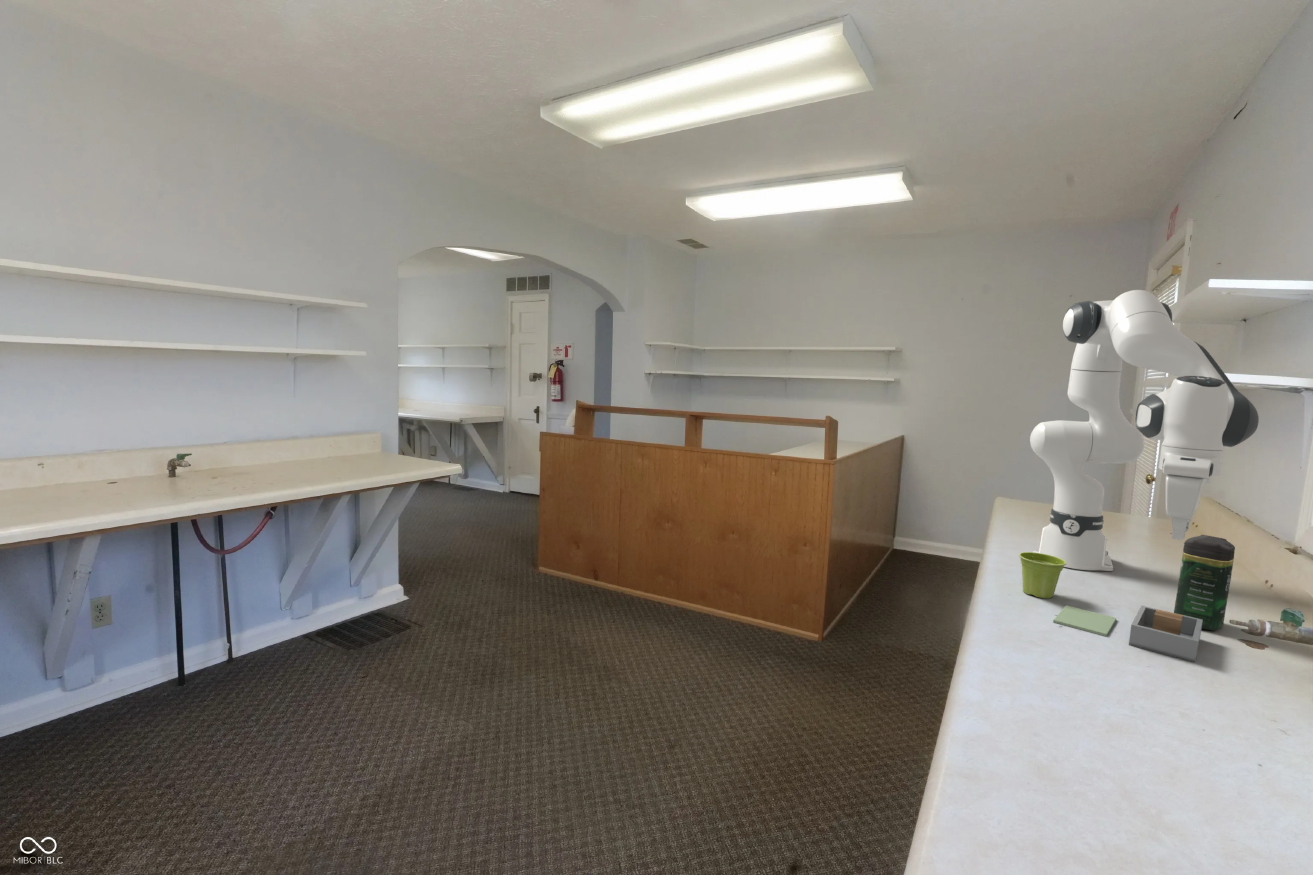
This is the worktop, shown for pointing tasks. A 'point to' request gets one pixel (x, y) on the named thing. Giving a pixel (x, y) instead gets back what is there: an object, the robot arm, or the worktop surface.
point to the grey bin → (1166, 636)
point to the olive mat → (1085, 620)
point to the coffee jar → (1205, 580)
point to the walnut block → (1167, 622)
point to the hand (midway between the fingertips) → (1179, 534)
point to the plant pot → (1040, 573)
